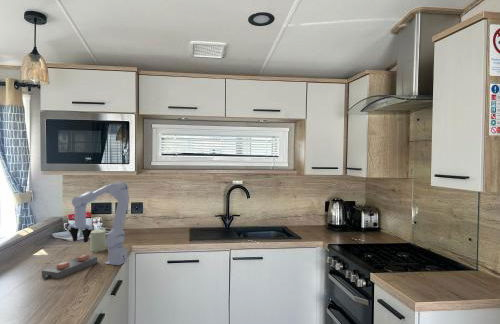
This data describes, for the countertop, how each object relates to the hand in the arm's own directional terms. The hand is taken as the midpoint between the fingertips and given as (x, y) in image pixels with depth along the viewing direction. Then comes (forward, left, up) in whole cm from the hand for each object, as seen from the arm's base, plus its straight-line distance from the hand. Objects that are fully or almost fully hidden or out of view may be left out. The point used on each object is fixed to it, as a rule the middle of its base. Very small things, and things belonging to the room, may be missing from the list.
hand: (80, 241), depth 194 cm
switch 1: (-9, +20, -7) cm, 23 cm away
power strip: (-7, +16, -10) cm, 20 cm away
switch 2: (-9, +8, -7) cm, 14 cm away
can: (+6, -20, -11) cm, 23 cm away
